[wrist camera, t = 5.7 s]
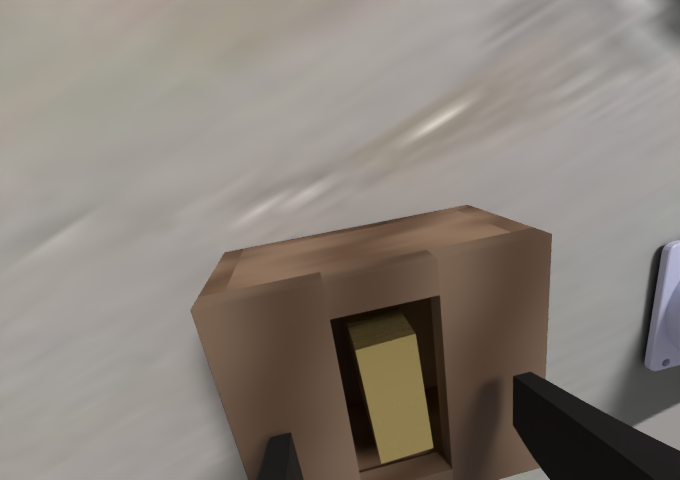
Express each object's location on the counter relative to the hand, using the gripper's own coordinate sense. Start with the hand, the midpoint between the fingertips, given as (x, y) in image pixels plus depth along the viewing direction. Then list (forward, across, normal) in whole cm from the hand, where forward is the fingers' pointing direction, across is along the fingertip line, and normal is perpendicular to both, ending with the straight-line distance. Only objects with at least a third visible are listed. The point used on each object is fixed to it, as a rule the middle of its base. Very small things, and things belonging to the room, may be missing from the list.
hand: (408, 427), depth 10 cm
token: (+6, 0, 0) cm, 6 cm away
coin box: (+6, 0, 0) cm, 6 cm away
